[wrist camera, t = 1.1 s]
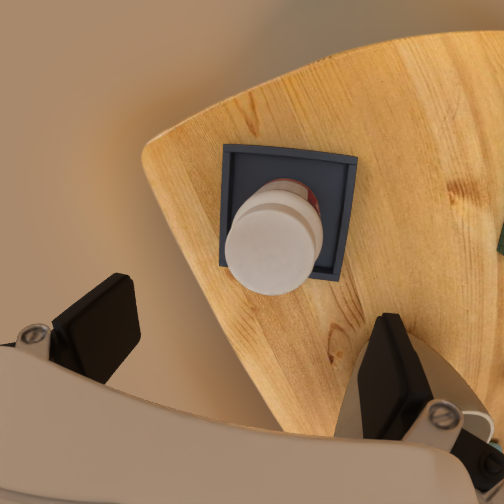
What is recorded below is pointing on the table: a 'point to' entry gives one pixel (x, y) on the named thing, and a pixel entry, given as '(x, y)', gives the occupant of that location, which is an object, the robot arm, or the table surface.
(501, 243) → the tray
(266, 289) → the pill bottle
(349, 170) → the dark square tray
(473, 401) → the plant pot
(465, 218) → the table surface
